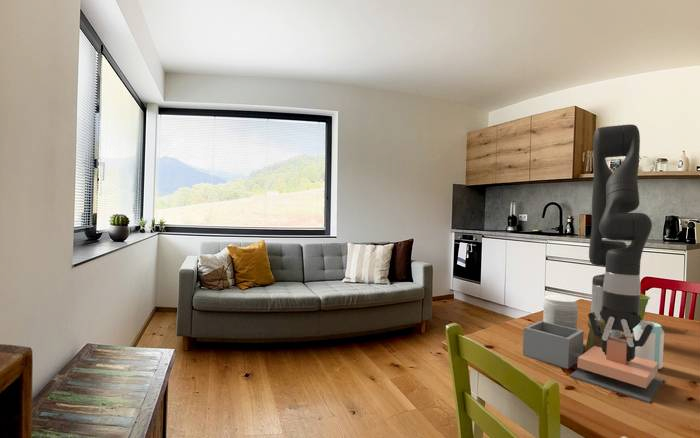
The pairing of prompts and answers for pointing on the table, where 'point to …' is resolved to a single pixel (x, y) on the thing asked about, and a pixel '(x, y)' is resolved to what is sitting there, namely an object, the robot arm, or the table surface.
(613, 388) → the mat
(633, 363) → the lid
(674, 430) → the table surface
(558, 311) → the supplement tub
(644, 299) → the plant pot
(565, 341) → the storage box
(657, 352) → the can
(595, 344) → the pepper mill
